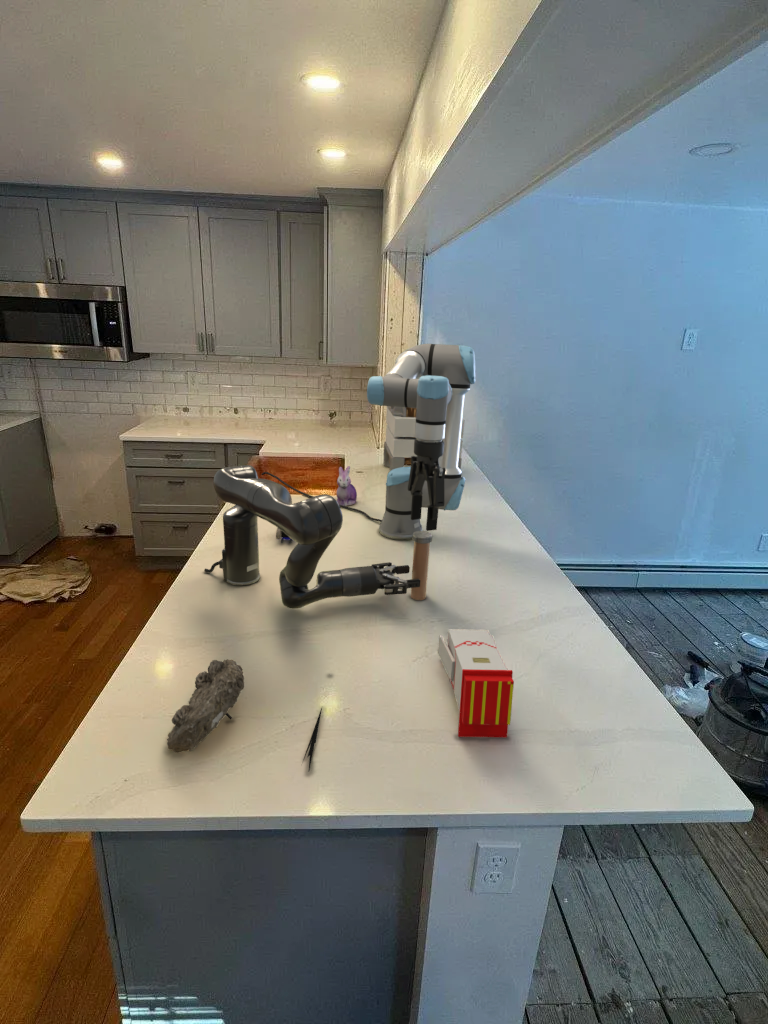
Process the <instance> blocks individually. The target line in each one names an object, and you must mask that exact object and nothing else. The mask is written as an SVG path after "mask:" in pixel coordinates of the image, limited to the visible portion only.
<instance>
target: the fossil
mask: <svg viewBox="0 0 768 1024" xmlns="http://www.w3.org/2000/svg"><path fill="white" fill-rule="evenodd" d="M243 670H244V669H243V667H242V665H240V664H237V662H236V661H235V660H234V659H232V658H231V659H227V658H226V659H224V660H223V661H222V660H217V659H212V660H211V661H210V663H209V665H208V666H207V671H201V672H199V673H198V674H197V675H196V676H195V680H194V684H195V685H194V687H195V689H194V690H193V693H192V694H191V697H190V698H189V700H188V704H184V705H182V706H181V707H180V709H177V710H176V711H175V713H174V715H173V716H172V718H171V723H172V724H173V727H172V730H171V731H170V732H168V734H167V738H166V741H167V742H166V745H167V749H168V750H169V751H173V752H174V753H176V754H178V753H182V752H188V751H189V752H192V751H193V750H195V748H196V747H197V746H199V744H200V743H201V742H203V741H204V740H205V739H206V738H207V737H208V736H209V735H210V734H211V733H212V732H214V730H215V729H217V727H218V726H219V724H220V722H221V721H222V720H223V719H224V718H225V716H226V717H227V719H229V720H233V717H232V715H230V714H229V710H230V709H231V708H234V706H235V704H236V703H237V702H238V699H239V697H240V695H241V693H242V691H243V690H245V689H244V688H245V675H244V671H243Z"/></svg>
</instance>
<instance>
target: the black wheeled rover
mask: <svg viewBox="0 0 768 1024" xmlns="http://www.w3.org/2000/svg"><path fill="white" fill-rule="evenodd" d="M275 539H276V540H280V544H283V543H284V541H288V542H289V544H292V542H293V540H292V539H291V538H290V537H289V536H287V535H286V534H285V533H284V532H283V531H282V530H280V529H279V528H278V527H276V532H275Z"/></svg>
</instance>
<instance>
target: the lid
mask: <svg viewBox="0 0 768 1024" xmlns="http://www.w3.org/2000/svg"><path fill="white" fill-rule="evenodd" d="M411 540H412V541H413V543H414V542H417V543H422V544H426V543H430V544H431V543H432V541H433V534H432V533H431V532H430V531H427V530H422V531H416V532H414V533H413V537H412V539H411Z"/></svg>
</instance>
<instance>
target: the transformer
mask: <svg viewBox="0 0 768 1024" xmlns="http://www.w3.org/2000/svg"><path fill="white" fill-rule="evenodd" d="M416 409H417V408H408V407H395V406H386V413H385V414H386V415H385V423H386V428H385V438H384V442H383V466H384V467H388V468H389V472H390V471H391V470H393V469H396V468H400V467H405V466H406V467H411V456H417V455H415V454H414V440H415V439H417V438H415V422H416ZM464 429H465V419H464V418H462V428H461V439H460V449H459V460H458V468H459V469H460V470H461V471H462V461H463V460H462V453H463V442H464V441H463V440H462V439H463V438H464V431H465V430H464Z"/></svg>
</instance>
